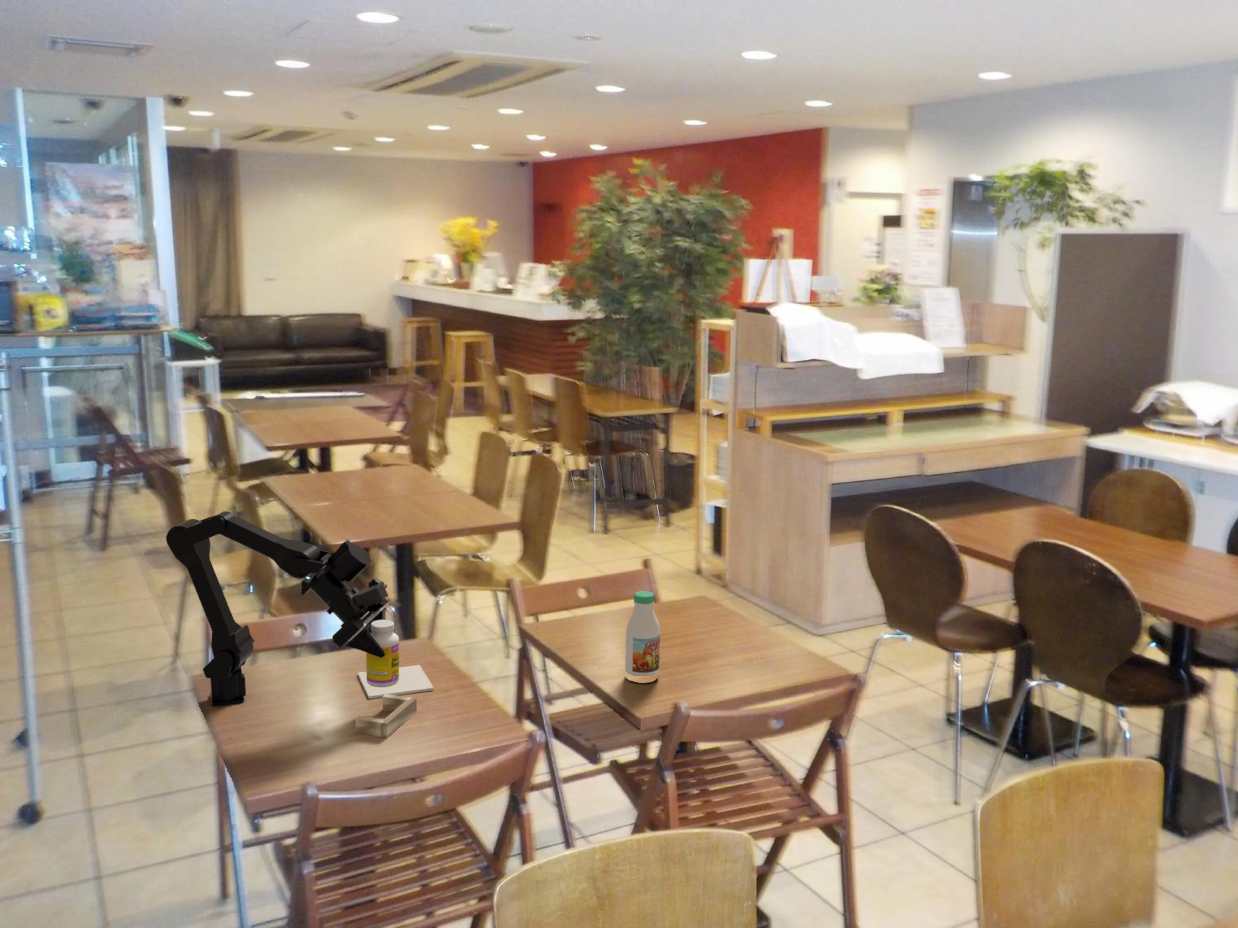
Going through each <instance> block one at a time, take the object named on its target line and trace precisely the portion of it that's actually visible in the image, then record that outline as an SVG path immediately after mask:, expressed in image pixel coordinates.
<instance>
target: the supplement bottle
mask: <svg viewBox="0 0 1238 928" xmlns="http://www.w3.org/2000/svg"><path fill="white" fill-rule="evenodd" d="M394 630H395V623H394V621H392V620H390V619H385V620H377V621H374V622H372V623H371V631H372V633H370V634H371V635H372V637H373V638H374V639H375V641H376V642H377V643H378V644H379V646H380V647H381V648H382V650H383V651H384V653H385V656H384V657H383V658H380V657H377V656H375V655H372V654H369V653H367V652H365V653H366V655H365V656H366V658H365V659H366V664H365V665H366V670H365V672H366V676H367V683H368V684H369V685H371V686H373V687H390V686H393V685H395V684H396V683H397V682H398V681H399V667H400V638H399V636H398V634H396V633H395V632H394Z"/></svg>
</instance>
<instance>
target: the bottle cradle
mask: <svg viewBox="0 0 1238 928" xmlns="http://www.w3.org/2000/svg"><path fill="white" fill-rule="evenodd" d="M381 698H382V711H385V712H391V713H390V714H389V715H388V716H386V717H385V718H384V719H382V718H374V717H368V716H361V715H358V716H357V717H355V719H354V723H355V727H354V730H355V732H354V733H355V734H359V735H366V736H371V737H379V738H386V739H387V738H389V737H390V736H392V734H393V733H395V732H396V731H397V730H398V729H399V728H400V727H402V726H403V725H404V724H405V723H406V722H407V721H408V720H409V719H411V718H412V717H413V716H414V715H415V714H416V713H417V710H418V709H417V708H418V706H417V705H418V704H417V697H410V696H409V697H408V696H402V695H390V694H385V695H384V696H383V697H381Z"/></svg>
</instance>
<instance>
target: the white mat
mask: <svg viewBox="0 0 1238 928" xmlns="http://www.w3.org/2000/svg"><path fill="white" fill-rule="evenodd" d="M357 676H359V677H358V679H359V681H360V683H361V685H362V688H363V690H364V692H365V693H366V696H367V698H368V699H369V700H371V699H379V698H382V697H383V696H384V695H385V694H390V695H397V696H402V695H409V694H415V693H423V692H430V691H432V692H433V691H434V690H435V688H434V685H433V684H432V682H431V681H430V679H429V678H428V676H427V674H426V672H425V671H424V669H423V668H422V666H421V665H420V664H417V665H416V664H414V665H408V666H399V681H398V682H397V683H396V684H395V685H393V686H390V687H373V686H371V685H369V684H368V683H367V676H366V671H361V672H360V671H359V672H357Z"/></svg>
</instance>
